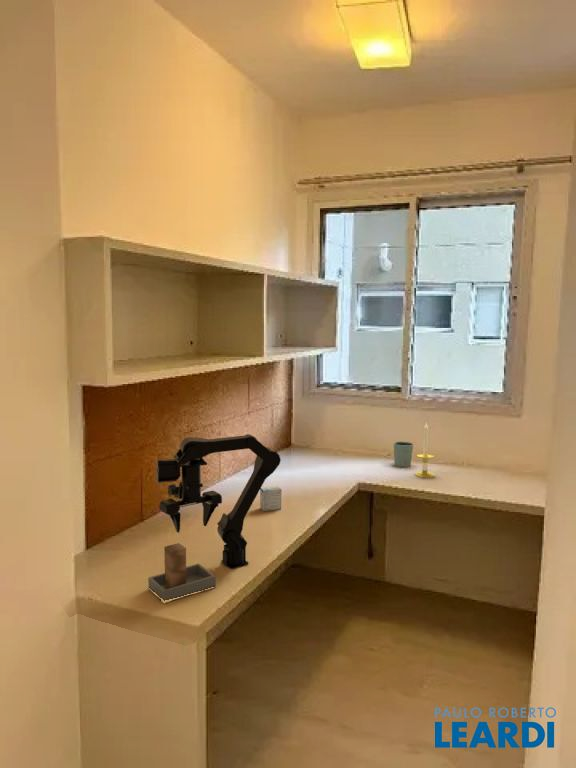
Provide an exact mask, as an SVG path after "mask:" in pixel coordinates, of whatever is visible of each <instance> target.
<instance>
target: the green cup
mask: <svg viewBox="0 0 576 768" xmlns="http://www.w3.org/2000/svg"><path fill="white" fill-rule="evenodd" d="M413 450H414V443H413V442H409V441H400V440H399V441H395V442H393V455H394V456H393V457H394V459H393V460H394V463H393V464H394V466H395V467H397V468H410V467H411V465H412V456H413Z"/></svg>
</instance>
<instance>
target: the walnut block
mask: <svg viewBox="0 0 576 768" xmlns="http://www.w3.org/2000/svg"><path fill="white" fill-rule="evenodd" d="M163 549H164V550H163V551H164V573H165V587H166V588H167V589H169V588H173V587H176V586H179V585H183V584H186V567H187V548H186V547H185V546H184V545H183V544H181V543H180V542H177V543H173V544H170V545H166V546H164V547H163Z"/></svg>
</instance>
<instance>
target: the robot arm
mask: <svg viewBox="0 0 576 768" xmlns="http://www.w3.org/2000/svg"><path fill="white" fill-rule="evenodd" d="M241 450H250V451H251V452H252V453H253V454H255V455H256V458H255V460H254V465H253V472H252V473H251V475H250V477H249V478H248V481H247V482H246V484H245V486H244V488H243V490H242V491H241V493H240V495H239V497H238V498H237V501H236V502H235V505H234V507H233V508H232V510H231V511H230V512H229V513H227V514H226V513H225V512H223V513H222V516H221V518H220V520H219V521H218V522H217V523H216V524H217V528H216V529H217V533H218V535H219V537H220V539H221V540H222V541H223V543H224V544H223V550H222V559H221V561H220V563H221V564H223V565H225V566H226V567H227V568H229V569H231V570H233V569H237V568H239V567H242V566H246V565H247V566H248V565H249V561H247V559H246V555H247V553H246V552H247V549H246V547H247V545H248V542H247V540H246V539H245V537H244V536H243V535H242V532H243V529H244V521H245V518H246V516H247V514H248V513H249V511H250V509H251V507H252V505H253V504H254V502H255V500H256V498H257V496H258V495H259V493H260V488H263V487H262V486H263V484H264V483H265V481H266V480H267V479H268V477H270V476H271V475H272V474H273V473H274V472H275V471H276V470H277V469H278V467H280V466H279V465H280V464H281V461H282V459H281V456H280V454H279V452H277V451H275V450H274V449H272V447H268V446H267V447H266V446H265V445H264V444H263V443H261V442H260V441H259V440H258V439H257V438H256V437H255V436H254V435H253V434H249V433H248V434H245V435H237V436H227V437H220V438H219V437H218V438H203V437H192V436H191V437H190V436H189V437H185V438H184V439H183V440H182V441H181V443H180V445H179V449H178V450H177V452H176V453H175V455H174V456H173V458H169V459H163V458H160V459H159V458H158V459H156V468H155V477H156V483H157V484H159V483H170V482H177V480H179V478H181V481H180V482H179V484H178V486H176V484H169V485H167V492H168V493H167V494H168V496H169V497H170V496H173V498H177V499H179V500H174V499H173V498H169V499H168V498H167V499H163V500H161V501H160V503H159V504H158V508H159V511H161V512H162V513H164V514H165V515H168V516H169V517H170V518H171V521H172V523H173V526H174V529H175V531H176V533H178V534H179V533H180V530H181V512H179V511H180V508H184V507H188V506H193V505H198V504H202V508H203V511H202V512H203V513H202V514H203V515H202V521H203V523H202V525H203V526H204V527H207V525H208V523H209V521H210V519H211V517H212V515H213V513H214V511H215V510H216V508H217V507H219V504H222V503H223V496H222V495H221V494H220V493H219V492H217V491H215V490H210V491H209V490H208V491H204V492H203V493H201V492H202V488H203V486H204V484H203V483H202V482H201V479H202V476H201V475H202V474H201V469H202V467H201V466H207V465H208V462H207V461H206V460H205V459H204V457H206V456H208V455H211V454H214V453H215V454H216V453H223V452H229V451H230V452H231V451H232V452H233V451H241Z"/></svg>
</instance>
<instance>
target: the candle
mask: <svg viewBox="0 0 576 768" xmlns="http://www.w3.org/2000/svg"><path fill="white" fill-rule="evenodd" d="M429 430H430V429H429V425H428V423H427V422H426V423H425V425H424V427H423V451H422V452H423V453H417V454H416V456H417V457H418V458H421V459H422V470H421V471H416V472H414V476H416V477H419V478H424V479H425V478H430V479H431V478H434V477H436V475H435V473H433V472H430V471H428V470H429V469H428V465H429V459H433V458H435V455H433V454H431V453H430V454H429V453H428V452H429Z"/></svg>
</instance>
